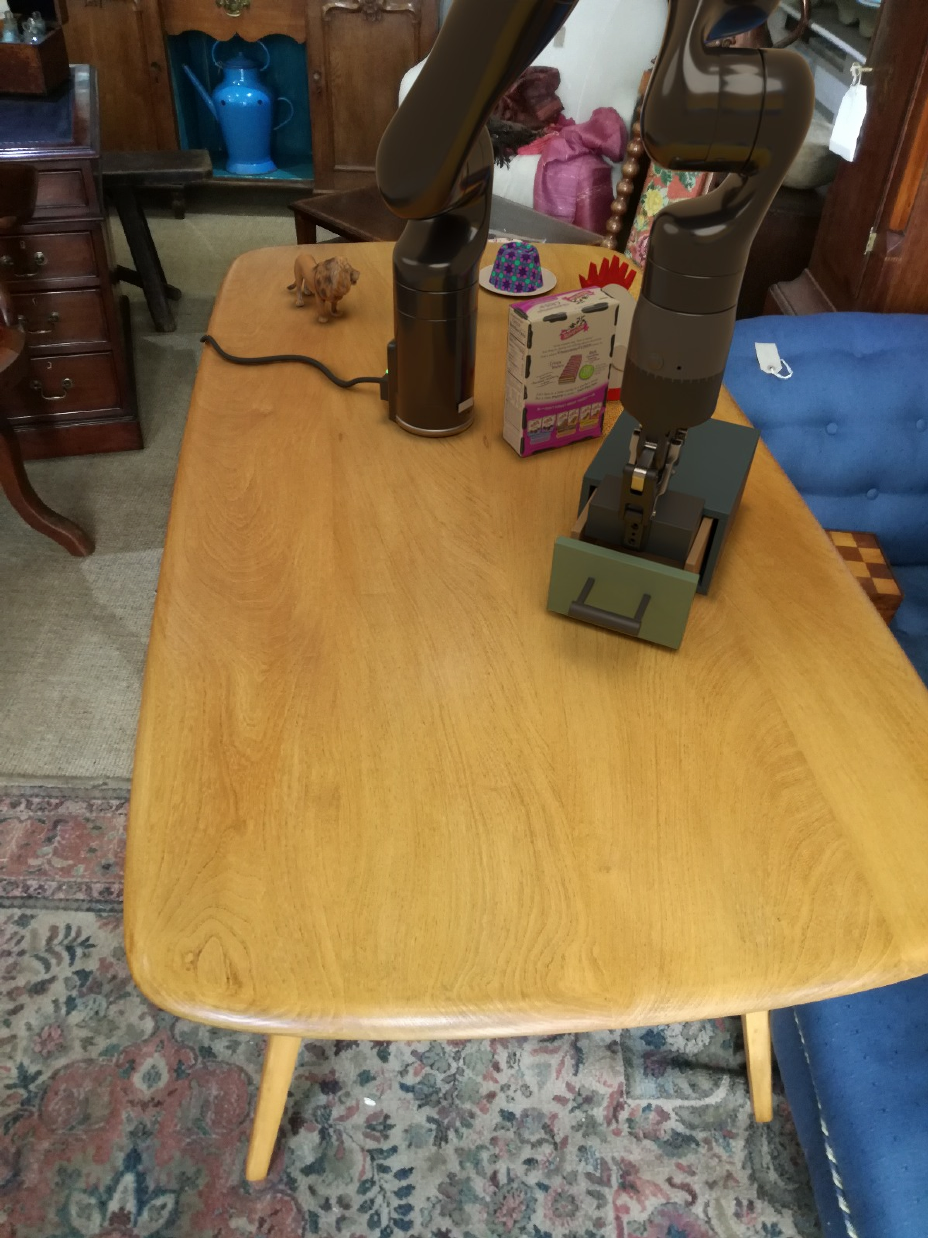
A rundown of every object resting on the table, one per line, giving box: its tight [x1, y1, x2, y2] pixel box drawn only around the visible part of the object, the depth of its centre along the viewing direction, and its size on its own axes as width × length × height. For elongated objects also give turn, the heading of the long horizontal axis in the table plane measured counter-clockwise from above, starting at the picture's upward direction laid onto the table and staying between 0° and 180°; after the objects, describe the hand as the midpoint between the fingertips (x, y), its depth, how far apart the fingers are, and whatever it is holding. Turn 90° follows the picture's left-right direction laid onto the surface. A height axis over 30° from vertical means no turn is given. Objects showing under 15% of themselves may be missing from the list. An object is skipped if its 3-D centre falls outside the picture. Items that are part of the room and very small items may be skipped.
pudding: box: [479, 241, 558, 297], centre depth 138 cm, size 12×12×5 cm
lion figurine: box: [286, 252, 361, 324], centre depth 128 cm, size 15×5×9 cm, turn 45°
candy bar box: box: [502, 286, 620, 458], centre depth 103 cm, size 11×5×16 cm, turn 117°
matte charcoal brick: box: [585, 474, 706, 563], centre depth 81 cm, size 9×5×4 cm, turn 67°
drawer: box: [546, 487, 717, 651], centre depth 84 cm, size 19×12×8 cm, turn 157°
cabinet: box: [576, 408, 762, 596], centre depth 93 cm, size 16×14×10 cm
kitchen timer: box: [578, 254, 637, 402], centre depth 115 cm, size 14×14×15 cm
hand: (641, 529), depth 82 cm, fingers closed on matte charcoal brick, 5 cm apart
